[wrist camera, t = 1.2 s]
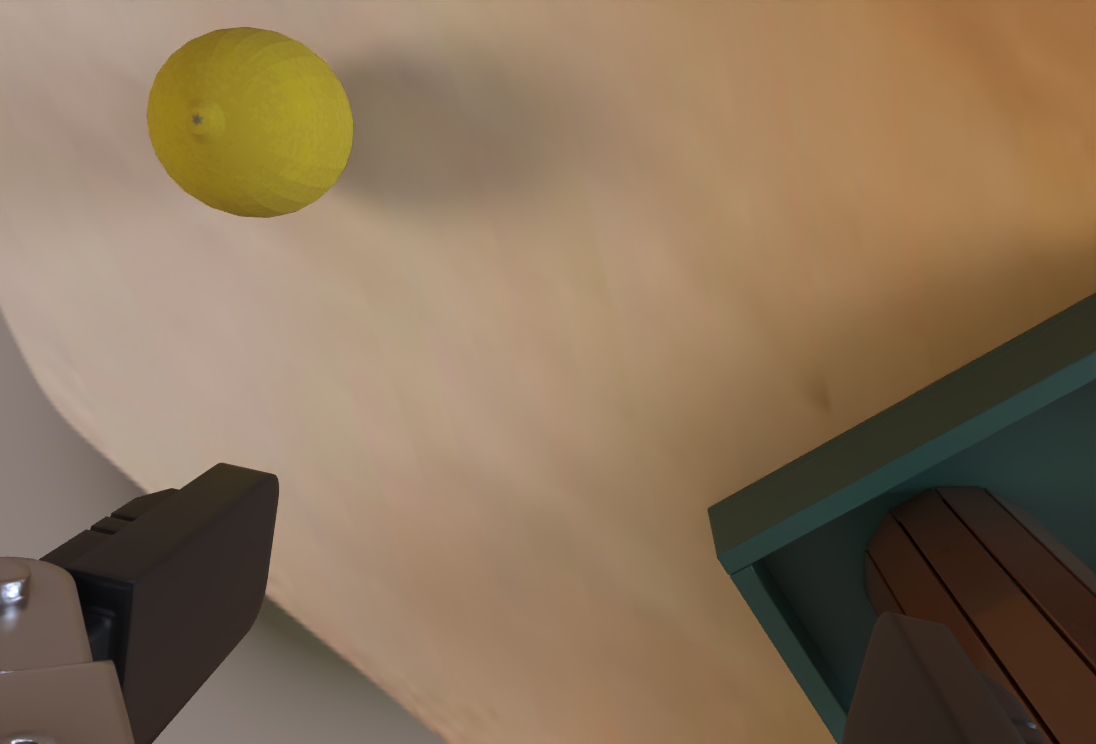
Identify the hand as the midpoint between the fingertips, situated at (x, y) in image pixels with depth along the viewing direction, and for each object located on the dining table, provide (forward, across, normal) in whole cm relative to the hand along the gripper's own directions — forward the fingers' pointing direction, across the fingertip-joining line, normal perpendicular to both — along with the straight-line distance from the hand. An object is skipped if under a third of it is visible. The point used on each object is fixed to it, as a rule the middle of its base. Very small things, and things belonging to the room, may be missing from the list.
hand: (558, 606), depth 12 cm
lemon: (+21, +12, -5) cm, 25 cm away
